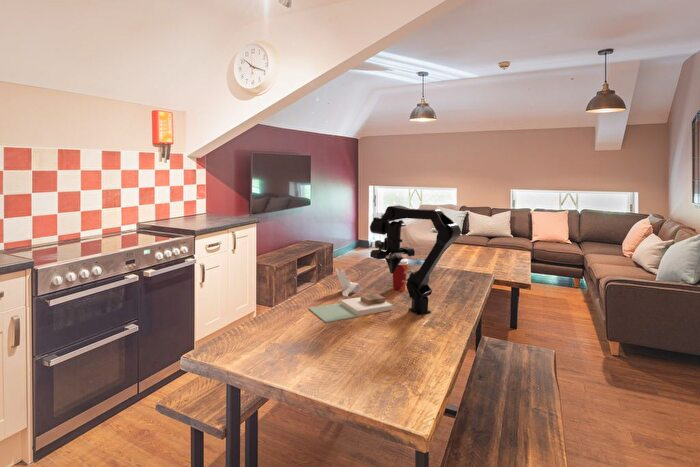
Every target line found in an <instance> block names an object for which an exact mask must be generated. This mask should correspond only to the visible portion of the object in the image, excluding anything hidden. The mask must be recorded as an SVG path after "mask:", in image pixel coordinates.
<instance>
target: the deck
mask: <svg viewBox="0 0 700 467" xmlns="http://www.w3.org/2000/svg"><path fill="white" fill-rule="evenodd" d="M340 304H342V305H343V306H345V307H346V308H348V309H349V310H351V311H352V312H354V313H356V314H357V315H359V317H361V316H364V315H365V316H366V315H371V314H377V313H381V312H387V311H393V304H392V303H390V302H388V301H386V300H385V303H378V304H372V305H367V304H365V303H364V302H362V301H361V296H360V297H353V298H346V299H341V300H340Z"/></svg>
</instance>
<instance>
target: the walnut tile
mask: <svg viewBox="0 0 700 467" xmlns="http://www.w3.org/2000/svg"><path fill="white" fill-rule="evenodd" d="M360 297H361V301H362V302H364V303H365V304H367V305H372V304H378V303H385V301H386V297H385V296H383V295H381V294H379V293H372V294H366V295H365V294H364V295H361V296H360Z"/></svg>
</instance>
